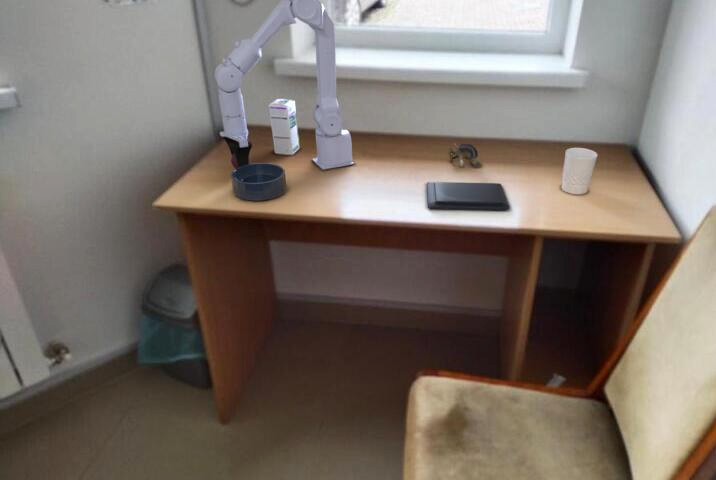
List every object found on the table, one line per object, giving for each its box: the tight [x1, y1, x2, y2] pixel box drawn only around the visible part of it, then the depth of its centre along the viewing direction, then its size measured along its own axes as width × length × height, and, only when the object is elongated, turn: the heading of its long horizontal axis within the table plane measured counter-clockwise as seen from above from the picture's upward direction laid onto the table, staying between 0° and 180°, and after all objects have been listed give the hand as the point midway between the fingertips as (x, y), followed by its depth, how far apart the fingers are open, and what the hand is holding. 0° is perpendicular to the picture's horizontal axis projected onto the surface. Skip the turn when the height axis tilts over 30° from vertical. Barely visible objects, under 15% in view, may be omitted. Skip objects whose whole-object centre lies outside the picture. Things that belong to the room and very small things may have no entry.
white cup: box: [561, 147, 599, 195], centre depth 145 cm, size 8×8×10 cm
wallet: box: [426, 181, 510, 212], centre depth 141 cm, size 20×2×15 cm
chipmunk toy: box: [446, 143, 482, 168], centre depth 158 cm, size 8×7×9 cm
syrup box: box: [268, 98, 301, 156], centre depth 161 cm, size 6×6×14 cm
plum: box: [230, 154, 251, 169], centre depth 149 cm, size 5×5×6 cm
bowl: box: [230, 162, 288, 201], centre depth 140 cm, size 13×13×5 cm
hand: (241, 164), depth 150 cm, fingers closed on plum, 4 cm apart
